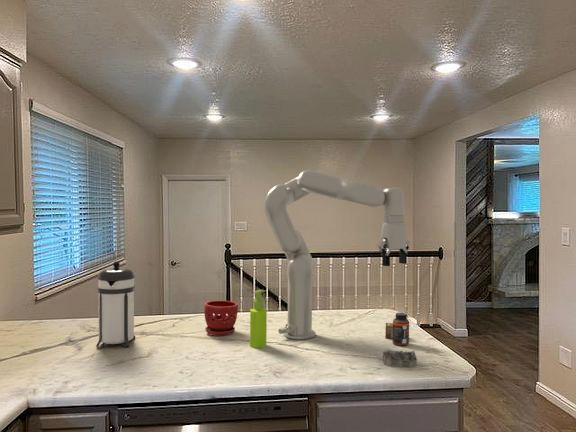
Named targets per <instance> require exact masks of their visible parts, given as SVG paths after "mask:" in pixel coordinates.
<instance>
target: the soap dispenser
mask: <svg viewBox="0 0 576 432" xmlns="http://www.w3.org/2000/svg"><path fill="white" fill-rule="evenodd" d="M264 292H266V290H264V289H257V290H255V291H254V294H255V295H256V296H255V299H254V300H253V308H250V311H249V312H250V314H249V315H250V316H249V319H250V320H249V324H250V325H249V326H250V328H249V329H250V330H249V331H250V332H249V346H250V348H254V349H264V348H265V347H267V322H268V321H267V318H268V317H267V315H268V314H267V312H268V311H267V308H264V299H262V293H264Z"/></svg>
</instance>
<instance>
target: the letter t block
mask: <svg viewBox="0 0 576 432" xmlns="http://www.w3.org/2000/svg"><path fill="white" fill-rule="evenodd" d="M384 337H385V339H387V340H392V339H393V322H385V335H384Z"/></svg>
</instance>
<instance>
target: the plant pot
mask: <svg viewBox="0 0 576 432" xmlns="http://www.w3.org/2000/svg"><path fill="white" fill-rule="evenodd" d="M203 310H204V319H205V324H206V327H205V332H206V333H207V334H209V335H211V336H212V337H213V336H216V337H221V336H222V337H223V336H229V335H231V334H233V333H234V332H235V330H236V327H235V324H236V323H237V320H238V319H237V318H238V312H239V303H238V302H235V301H230V300H210V301H207V302H205V303H204V309H203Z"/></svg>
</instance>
